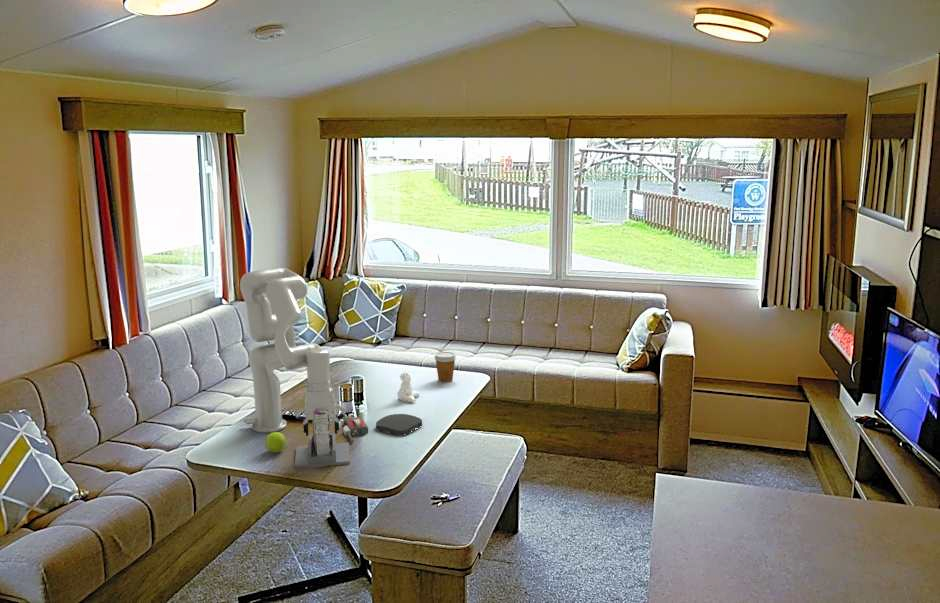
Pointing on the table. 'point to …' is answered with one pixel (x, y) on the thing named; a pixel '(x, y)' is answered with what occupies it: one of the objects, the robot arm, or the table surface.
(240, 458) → the table surface
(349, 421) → the walkie-talkie
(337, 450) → the dock
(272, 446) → the tennis ball
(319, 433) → the candy bar box
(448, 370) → the disposable coffee cup
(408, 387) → the sitting furry creature
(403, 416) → the media streaming box
